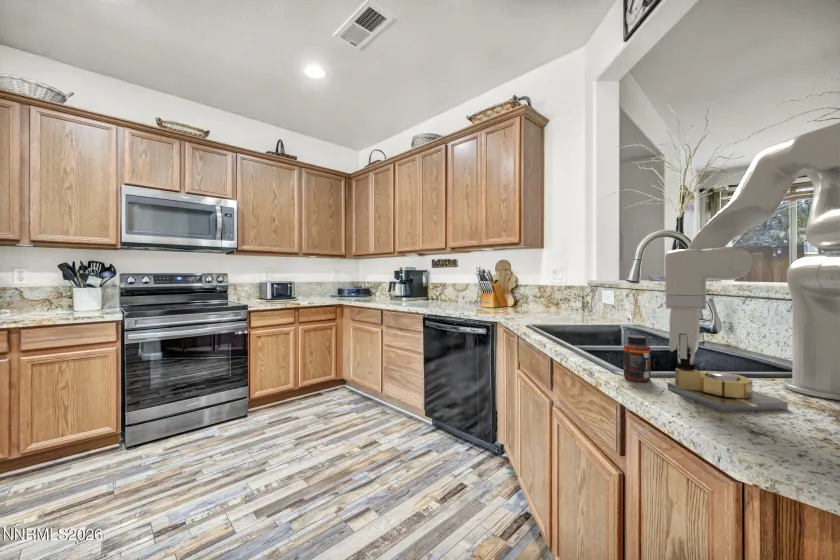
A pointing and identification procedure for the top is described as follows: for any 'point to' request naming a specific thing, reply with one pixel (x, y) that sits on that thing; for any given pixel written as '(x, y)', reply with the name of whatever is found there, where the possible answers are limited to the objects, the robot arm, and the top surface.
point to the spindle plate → (731, 398)
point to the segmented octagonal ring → (713, 383)
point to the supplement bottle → (637, 359)
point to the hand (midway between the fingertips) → (686, 380)
